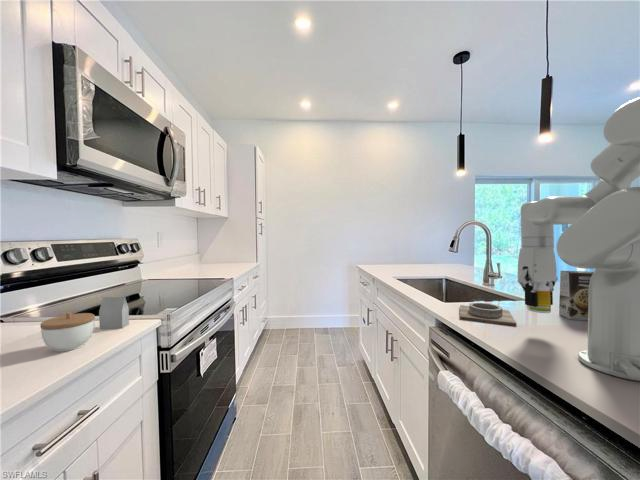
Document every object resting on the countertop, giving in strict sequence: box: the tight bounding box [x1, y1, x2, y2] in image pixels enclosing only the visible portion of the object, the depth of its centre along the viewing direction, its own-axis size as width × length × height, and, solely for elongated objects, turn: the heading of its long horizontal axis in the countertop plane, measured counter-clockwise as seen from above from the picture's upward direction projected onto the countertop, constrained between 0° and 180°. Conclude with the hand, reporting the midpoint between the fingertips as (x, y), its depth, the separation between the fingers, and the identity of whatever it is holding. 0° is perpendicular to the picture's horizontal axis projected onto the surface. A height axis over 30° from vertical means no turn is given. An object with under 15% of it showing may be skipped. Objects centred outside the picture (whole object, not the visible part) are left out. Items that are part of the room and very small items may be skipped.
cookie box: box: [558, 270, 594, 321], centre depth 94 cm, size 9×6×16 cm
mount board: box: [459, 302, 517, 327], centre depth 97 cm, size 16×16×4 cm
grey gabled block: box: [98, 296, 130, 330], centre depth 89 cm, size 4×7×10 cm, turn 97°
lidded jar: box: [39, 311, 96, 353], centre depth 73 cm, size 11×11×9 cm
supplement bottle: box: [526, 279, 552, 314], centre depth 80 cm, size 5×5×10 cm
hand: (538, 304), depth 80 cm, fingers closed on supplement bottle, 5 cm apart
